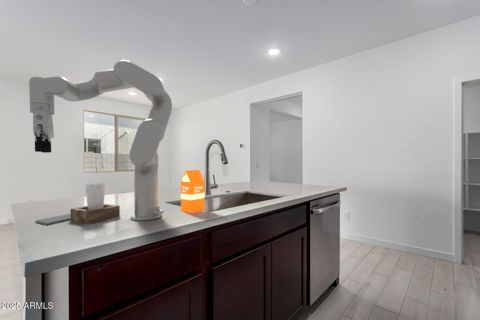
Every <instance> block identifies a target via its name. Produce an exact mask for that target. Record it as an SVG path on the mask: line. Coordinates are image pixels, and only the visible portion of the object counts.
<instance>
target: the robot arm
mask: <svg viewBox="0 0 480 320" xmlns="http://www.w3.org/2000/svg"><path fill="white" fill-rule="evenodd" d="M28 82H29V83H28V86H29V87H28V88H29V90H28V91H29V93H28V94H29V113H31V114H32V115H33V116H32V132H33V136H34V151H35V152H36V153H38V152H39V153H40V152H41V153H47V154H48V153H52V141H51V139H54V137H55V131H54V121H53V115H55V96H56V97H59V98H61V99H64V100H65V101H68V102H81V101H86V100H87V101H88V100H90V99H93V98H96V97H97V98H98V97H99V96H101V95H103V94H104V93H109V92H115V91H121V90H126V89H132V88H134V89H136V90H139V91H140V92H142V93H143V94H144V96H145V97H146V98H147V99H148V100H149V101H151V103H152V105H151V108H150V110H149V113H148V117H147V119H144V120H143V121H142V122H140V123H139V125H138V127H137V130H136V133H135V136H134V139H133V141H132V144H131V148H130V151H129V160H130V162H131V163H132V165H134V176H133V177H134V178H133V179H134V181H133V182H134V184H133V185H134V186H133V187H134V191H133V192H134V196H133V197H134V213H133V214H131V215H130V219H131V220H133V221H138V222H139V221H149V220H151V221H152V220H155V219H159V218H160V217H162V214H163V213H164V210H162V209H160V206H159V205H158V204H159V199H158V197H159V196H158V195H159V193H158V192H159V191H158V188H159V186H158V184H159V183H158V181H159V180H158V179H159V178H158V177H159V175H158V173H159V154H158V152H157V151H158V149H159V146H160V143H161V141H163V139H164V137H165V134H166V131H167V127H168V124H169V120H170V117H171V113H172V109H173V102H172V99H171V96H170V95H169V93H168V92H167V91H166V89H165V88H164V85H163V82H162V80H160V78H159V77H158V76H156V75H155V74H153V73H152V72H150V71H148V70H146V69H144V68H142V67H141V66H139V65H137V64H135V63H133V62H132V61H129V60H125V59H122V60H118V61H116V62H115V63H114V66H113V68H112V69H107V70H106V69H105V70H98V71H96V72H95V73H94V75H93V77H92V78H91V79H90V80H88V81H85V82H80V83H73V82H71V81H70V80H69V79H66V78H65V77H63V76H50V77H42V76H32V77H30V78H29V79H28Z"/></svg>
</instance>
